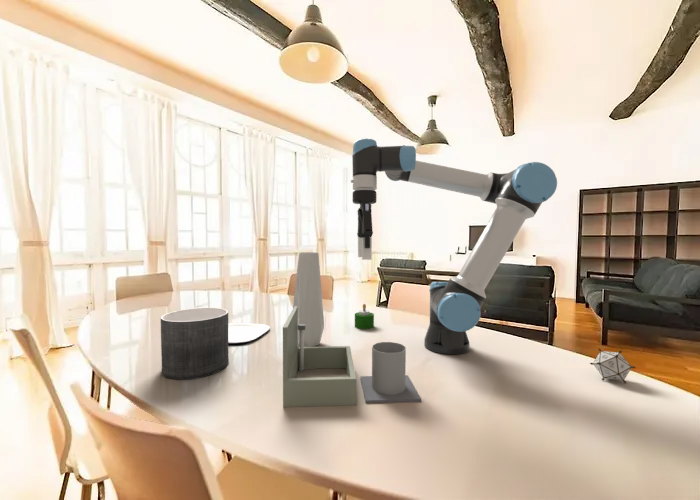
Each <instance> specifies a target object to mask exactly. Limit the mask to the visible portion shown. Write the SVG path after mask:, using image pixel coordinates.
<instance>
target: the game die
mask: <svg viewBox="0 0 700 500" xmlns="http://www.w3.org/2000/svg"><path fill="white" fill-rule="evenodd" d="M597 350H598V351H599V352H598V354H597V356H596V358H595V360H594V361H593V362H590V363H589V364H590V365H593V366H594V367H595V368H596V370H597V372H599V374H600V375H601V377H602V378H601V381H602V380H603V381H605V379H608V380H616V381H622V382H623V383H624V384H627V381H626V380H625V379H626V378H627V376H628V374H629V373H630V371H631V370H632V369H636V366H634V365H631V364H630V363H629V361H628V360H627V359H626V358H625V356H623V354H622V352H623V350H622V349H620V350H619V351H605V350H602V349H601V348H600V347H598V348H597Z"/></svg>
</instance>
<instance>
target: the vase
mask: <svg viewBox="0 0 700 500" xmlns="http://www.w3.org/2000/svg"><path fill="white" fill-rule="evenodd" d="M319 256H320V255H319V252H312V251H310V252H304V251H303V252H302V251H301V252H299V254H298V260H297V269H296V278H295V287H294V292H293V293H294V295H293V301H292V302H293V303H292V309H293V308H294V306H298V324H306V328H305V330H304V347H317V346H318V345H320V344H321V340H322V337H323V333H324V329H325V319H324V318H325V317H324V307H323V306H324V305H323V295H322V294H323V293H322V280H321V269H320V268H321V267H320V257H319ZM298 347H300V330H298Z"/></svg>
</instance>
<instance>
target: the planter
mask: <svg viewBox="0 0 700 500" xmlns="http://www.w3.org/2000/svg"><path fill="white" fill-rule="evenodd" d="M228 323H229V310H228V309H226V308H220V307H196V308H195V307H194V308H187V309H179V310H175V311H171V312H167V313H165V314H163V315H161V316H160V349H161V351H160V352H161V374H162V376H163V377H165V378H167V379H171V380H193V379H199V378H203V377H204V378H205V377H208V376H211V375H213V374H216V373H219V372H220V371H222V370H224V369H225V368H226V367H227V366H228V365H229V363H230V362H229V344H228Z"/></svg>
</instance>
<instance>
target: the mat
mask: <svg viewBox="0 0 700 500" xmlns="http://www.w3.org/2000/svg"><path fill="white" fill-rule="evenodd" d="M359 378H360V383H361V387H362V392H363V396H364V397H363V398H364V401H365V404H373V403H374V404H377V403H381V404H382V403H383V404H384V403H410V402H412V403H413V402H415V403H416V402H419V403H420V402H422V397H421V395H420V394H419V392H418V391H417V389H416V387H415V386H414V384H413V382H412V380H411V378H410V376H409V375H407V374H405V390H404V391H403V392H402V393H399V394H395V395H387V394H382V393H379V392H377V391H375V390H374V389H373V388H372V375H361V376H360V377H359Z"/></svg>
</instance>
